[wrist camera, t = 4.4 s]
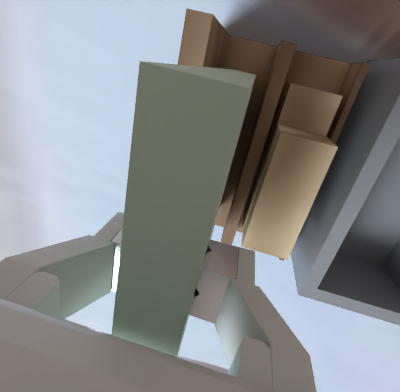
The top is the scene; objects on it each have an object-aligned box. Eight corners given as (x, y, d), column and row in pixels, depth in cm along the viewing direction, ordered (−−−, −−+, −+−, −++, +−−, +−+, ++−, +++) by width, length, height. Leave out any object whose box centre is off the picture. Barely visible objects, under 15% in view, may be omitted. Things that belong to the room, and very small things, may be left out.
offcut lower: (331, 92, 19) (342, 96, 17) (279, 222, 24) (281, 241, 22) (286, 82, 20) (290, 83, 17) (243, 212, 25) (241, 229, 22)
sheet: (256, 74, 20) (250, 88, 4) (219, 205, 25) (148, 458, 9) (234, 69, 20) (140, 60, 4) (202, 201, 25) (100, 440, 9)
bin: (500, 91, 19) (622, 100, 13) (383, 269, 26) (423, 332, 20) (367, 60, 20) (419, 55, 13) (288, 242, 27) (298, 294, 20)
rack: (350, 65, 20) (419, 60, 11) (280, 234, 26) (290, 312, 18) (216, 34, 21) (186, 8, 12) (180, 206, 27) (145, 267, 19)
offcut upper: (326, 136, 18) (338, 147, 15) (283, 236, 21) (287, 259, 19) (277, 123, 18) (280, 132, 15) (243, 224, 22) (241, 246, 19)
